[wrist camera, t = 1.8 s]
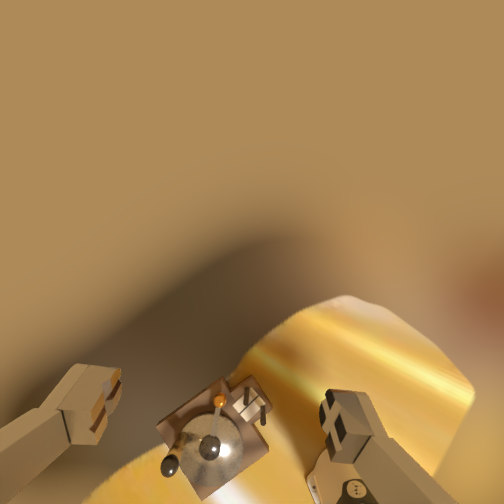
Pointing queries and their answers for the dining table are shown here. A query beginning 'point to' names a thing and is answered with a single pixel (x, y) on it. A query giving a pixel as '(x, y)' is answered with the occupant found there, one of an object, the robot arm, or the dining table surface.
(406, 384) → the dining table surface
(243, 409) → the stand
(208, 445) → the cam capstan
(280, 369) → the dining table surface
